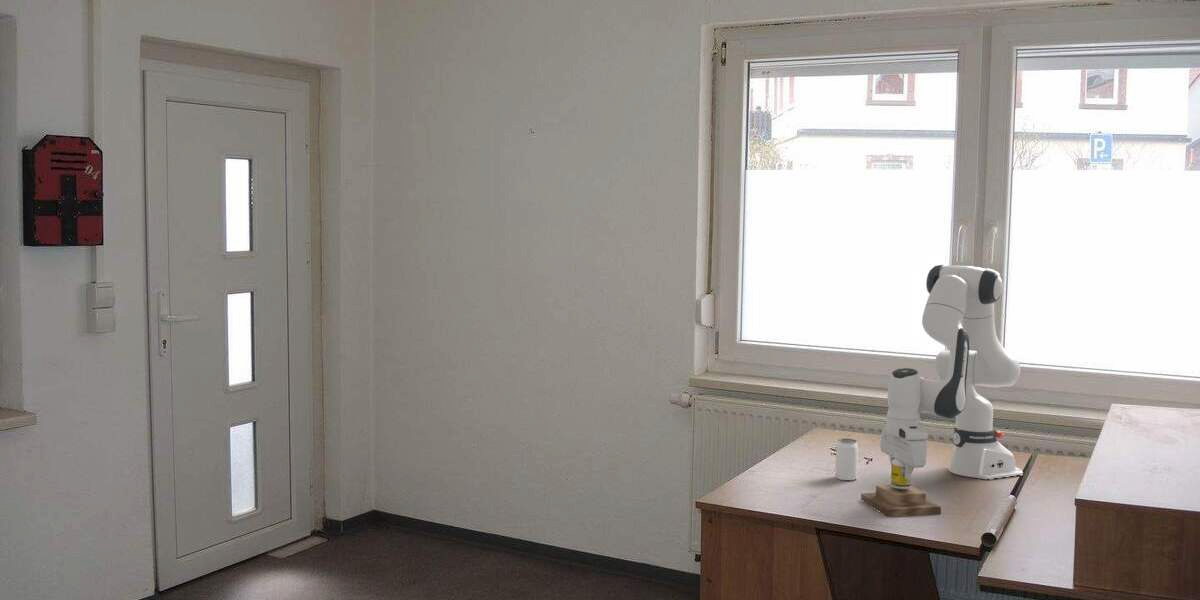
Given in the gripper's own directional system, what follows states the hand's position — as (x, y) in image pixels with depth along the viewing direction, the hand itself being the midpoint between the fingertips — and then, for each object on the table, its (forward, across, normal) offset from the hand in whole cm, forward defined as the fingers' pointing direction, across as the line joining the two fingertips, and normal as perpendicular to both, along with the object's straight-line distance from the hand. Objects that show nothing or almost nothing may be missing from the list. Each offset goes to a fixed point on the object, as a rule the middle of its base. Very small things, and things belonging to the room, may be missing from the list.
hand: (901, 475), depth 293 cm
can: (+9, -31, -2) cm, 32 cm away
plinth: (+9, 0, 0) cm, 9 cm away
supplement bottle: (+3, 0, 0) cm, 3 cm away
